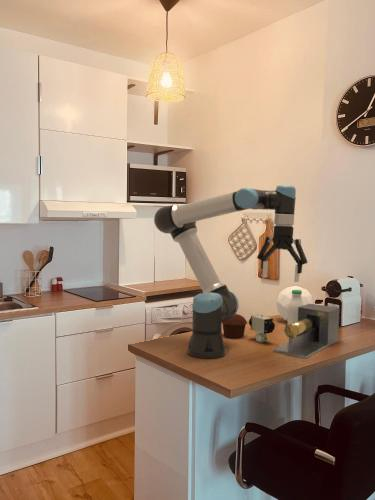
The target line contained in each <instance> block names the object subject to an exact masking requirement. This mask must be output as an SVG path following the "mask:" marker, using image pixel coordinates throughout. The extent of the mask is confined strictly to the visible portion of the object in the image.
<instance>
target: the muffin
mask: <svg viewBox="0 0 375 500" xmlns="http://www.w3.org/2000/svg"><path fill="white" fill-rule="evenodd" d="M247 324H248V321H247V319H246V318H245V317H244V316H243V315H241V314H237V313H236V314H235V315H234V316H233V317H232V318H230V319H228V320H225V321H223V322H222V330H223V331H222V332H223V336H224V337H225V338H226V339H227V338H228V339H235V340H238V339H243V337H244V335H245V330H246V325H247Z"/></svg>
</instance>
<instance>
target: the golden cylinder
mask: <svg viewBox="0 0 375 500" xmlns="http://www.w3.org/2000/svg"><path fill="white" fill-rule="evenodd" d="M311 328H312V322H311V321H310V320H309V319H304V320H301V321H298V322H296V323H290V324H288V323H287V324H286V325H285V326H284V334H285V336H287V338H288V339H289V338H295V337H297V336H298V335H299V334H301V333H303V332H305V331H308V330H310V329H311Z"/></svg>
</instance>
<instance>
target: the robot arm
mask: <svg viewBox="0 0 375 500" xmlns="http://www.w3.org/2000/svg"><path fill="white" fill-rule="evenodd" d="M296 192H297V189H296V187H295V186H293V185H284V184H283V185H282V184H281V185H277V186H276V187H275V190H263V189H262V190H261V189H255V188H252V187H242V188H240V189H239V190H236V191H232V192H228V193H224V194H220V195H217V196H213V197H210V198H206V199H205V198H204V199H202V200H198V201H197V200H196V201H193V202H190V203H187V204H182V205H179V204H177V203H176V204H172V205H167V206H166V205H165V206H162V207H160V208H159V209H158V210H157V211H156V212H155V214H154V218H153V221H154V225H155V227H156V229H157V230H158V231H160V233H163V234H170V236H171V238H172V240H173V241H174V242H176V243H178V244H179V246H180V248H181V250H182V252H183V255H184V257H185V258H186V260H187V263H188V264H189V266H190V268H191V271H192V273H193V275H194V276H195V278H196V281H197V282H198V284H199V287H200V289H201V290H202V292H201V293H198V294H196V295H195V296H194V297H193V299H192V306H191V308H192V327H191V328H192V333H191V335H190V339H189V342H188V345H187V354H188V353H189V354H190V356H191V355H192V357H196V358H199V359H217V358H222V357H223V356H225V355H226V351H227V350H226V345H225V342H224V338H223V335H222V334H223V333H222V332H223V331H222V330H223V324H222V322H223V321H225V320H228V319H230V318H232V317H233V316H234V315H235V314H237V313H238V310H239V307H240V306H239V298H238V297H237V296H236V294H235V293H234V292H232V291H230V290H229V288H228V286H227V284H226V283H223V282H221V281H220V278H219V276H218V274H217V272H216V270H215V268H214V266H213V264H212V263H211V260H210V259H209V256H208V255H207V253H206V250H205V248H204V247H203V244H202V243H201V241H200V239H199V237H198V235H197V232H198V228H197V225H196V223H197V222H199V221H202V220H206V219H207V220H208V219H211V218H215V217H220V216H224V215H229V214H232V213H236V212H240V211H245V210H269V211H270V210H271V211H274V219H273V224H274V226H273V233H272V234H273V236H272V237H271V236H265V241H264V243H263V245H262V247H261V249H260V250H259V253H258V255H257V256H256V259H258V260H260V261H261V262H260V263H261V265H260V269H261V270H262V278H268V268H269V261H268V259H269V258H270V256H272V254H273V253H275V251H276V250H286V251H288V252H289V254H290V256H291V257H292V258H293V260H294V261H295V263H296V264H295V267H294V280H293V281H294V283H299V282H300V274H302V273H303V265H305V264H308V260H307V257H306V253H304V249H303V247H302V243H301V242H302V240H301V238H296V239H294V238H293V237H294V226H293V225H295V208H296V198H297V196H296ZM272 242H273V244H272V245H271V243H272ZM293 244H294V245H295V248H296V250H295V248H294V247H293ZM270 245H271V247H270V248H269V246H270ZM268 248H269V249H268ZM267 250H268V251H267ZM189 354H188V355H189Z"/></svg>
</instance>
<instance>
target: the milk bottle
mask: <svg viewBox="0 0 375 500" xmlns="http://www.w3.org/2000/svg"><path fill="white" fill-rule="evenodd" d="M301 295H302V291H301V290H292V299H291V301H290V303H289V306H288V321H287V324H290V323H296V322H298V307H301V306H304V304H303V302H302V299H301Z"/></svg>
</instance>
